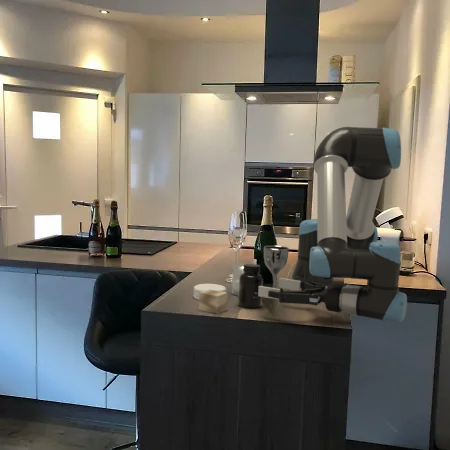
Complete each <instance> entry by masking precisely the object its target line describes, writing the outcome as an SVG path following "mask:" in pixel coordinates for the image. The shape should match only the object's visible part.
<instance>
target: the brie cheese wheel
mask: <svg viewBox="0 0 450 450" xmlns="http://www.w3.org/2000/svg"><path fill="white" fill-rule="evenodd" d="M209 289H210V290H215V291H221V292H227V288H226V286H224V285H221V284H216V283H200V284H196V285H195V286H193V294H192V296H193V298H194V299H196V300H198V301H199V296H200V292H203V291H206V290H209Z"/></svg>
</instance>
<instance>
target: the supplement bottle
mask: <svg viewBox="0 0 450 450" xmlns="http://www.w3.org/2000/svg"><path fill="white" fill-rule="evenodd" d="M243 264H244V269H243V271H244V273H243V274H241V275H240V279H239V296H237V297H238V299H237V303H238V306H240V307H241V308H246V309H259V308H260V307H262V304H263V303H262V299H263V297H260V296H258V290H259V286H264V285H263V283H264V278H263V275H262V274H261V273H260V272H261V265H260V264H255V263H243Z"/></svg>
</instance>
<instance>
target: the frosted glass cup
mask: <svg viewBox="0 0 450 450" xmlns="http://www.w3.org/2000/svg"><path fill="white" fill-rule="evenodd" d="M244 264H245V263H236V264H235V263H234V264H233V268H232V282H231V283H232V285H231V294H232V295H234V296H237V297H239V279H240V275H241V274H243V273H244V271H243V269H244Z"/></svg>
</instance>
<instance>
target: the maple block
mask: <svg viewBox="0 0 450 450" xmlns="http://www.w3.org/2000/svg"><path fill="white" fill-rule="evenodd" d="M198 303H199V304H198V310H199V311H203V312H208V313H210V314H211V313H212V314H217V315H218V314H220V313H222V312H224V311H228V308H227V307H228V292H227V291H225V292H221V291H215V290H210V289H209V290H206V291H203V292H200V296H199V300H198Z"/></svg>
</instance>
